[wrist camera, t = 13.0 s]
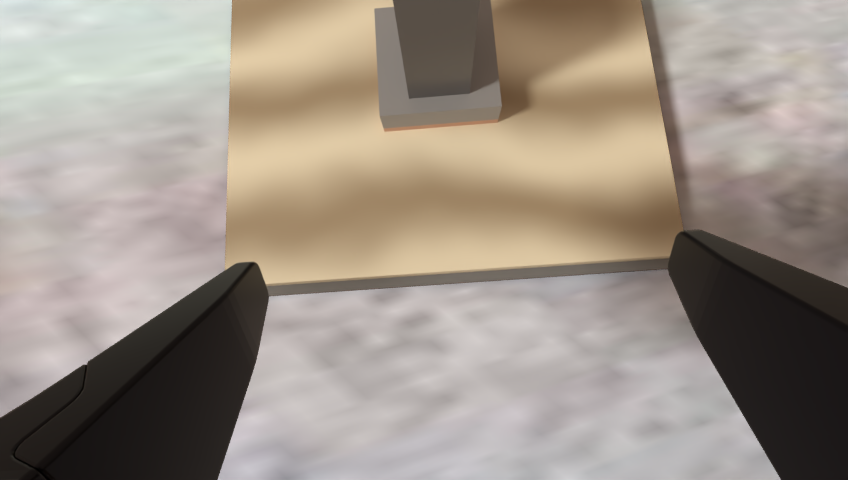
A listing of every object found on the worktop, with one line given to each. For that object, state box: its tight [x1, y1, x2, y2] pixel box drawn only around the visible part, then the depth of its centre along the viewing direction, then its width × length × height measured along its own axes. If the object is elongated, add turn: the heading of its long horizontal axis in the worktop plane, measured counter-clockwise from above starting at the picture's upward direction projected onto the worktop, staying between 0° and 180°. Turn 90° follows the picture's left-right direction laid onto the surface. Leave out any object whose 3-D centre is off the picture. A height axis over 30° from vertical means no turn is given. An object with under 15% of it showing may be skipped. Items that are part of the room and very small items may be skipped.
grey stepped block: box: [374, 0, 502, 132], centre depth 19 cm, size 6×6×9 cm
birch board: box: [225, 0, 684, 296], centre depth 24 cm, size 20×24×2 cm
